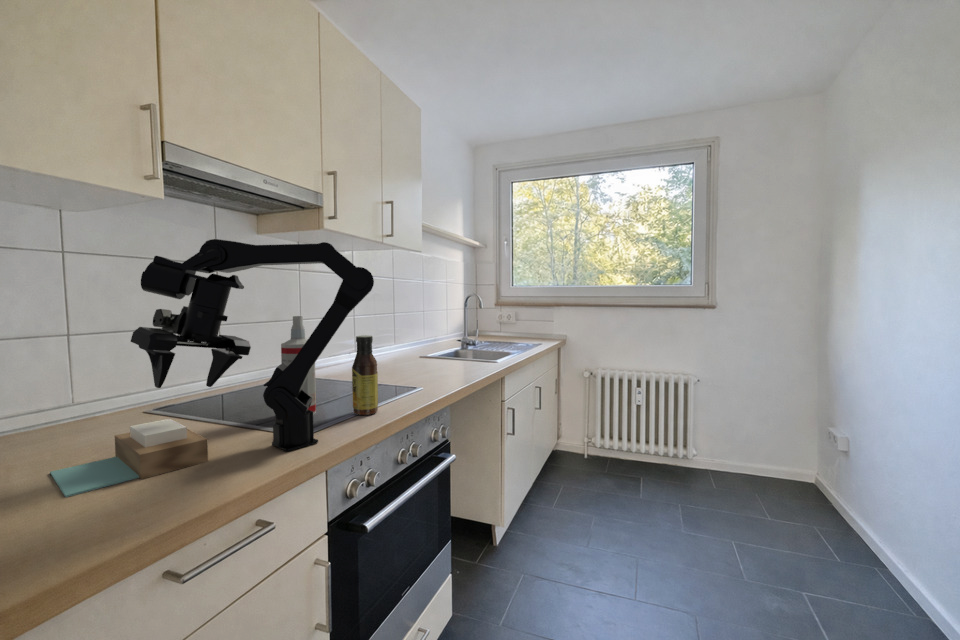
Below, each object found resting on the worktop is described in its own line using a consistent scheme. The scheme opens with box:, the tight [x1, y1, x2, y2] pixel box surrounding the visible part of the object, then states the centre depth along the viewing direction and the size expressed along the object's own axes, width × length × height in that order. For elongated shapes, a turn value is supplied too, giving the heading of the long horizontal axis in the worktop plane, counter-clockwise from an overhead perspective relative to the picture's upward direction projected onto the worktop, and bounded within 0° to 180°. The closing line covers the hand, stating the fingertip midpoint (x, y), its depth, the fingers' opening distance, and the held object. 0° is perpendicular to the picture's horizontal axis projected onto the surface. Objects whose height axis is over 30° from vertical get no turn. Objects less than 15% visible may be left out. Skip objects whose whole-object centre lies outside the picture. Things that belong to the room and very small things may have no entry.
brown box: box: [114, 428, 209, 480], centre depth 75 cm, size 10×16×4 cm, turn 52°
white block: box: [129, 418, 188, 447], centre depth 74 cm, size 6×9×2 cm, turn 52°
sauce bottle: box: [351, 334, 379, 416], centre depth 105 cm, size 6×6×20 cm
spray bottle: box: [280, 315, 317, 416], centre depth 104 cm, size 8×8×25 cm
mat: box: [49, 456, 140, 498], centre depth 68 cm, size 9×14×1 cm, turn 52°
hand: (184, 386), depth 77 cm, fingers open, 9 cm apart
